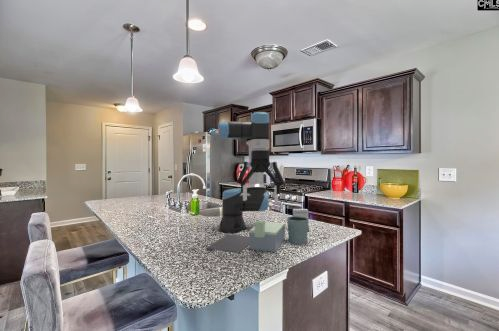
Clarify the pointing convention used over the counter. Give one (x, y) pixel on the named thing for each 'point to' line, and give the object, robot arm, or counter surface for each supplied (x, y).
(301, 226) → the teal cup
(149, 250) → the counter surface
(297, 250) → the counter surface
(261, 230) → the lid
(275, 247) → the tub
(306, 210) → the ink box
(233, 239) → the mat
